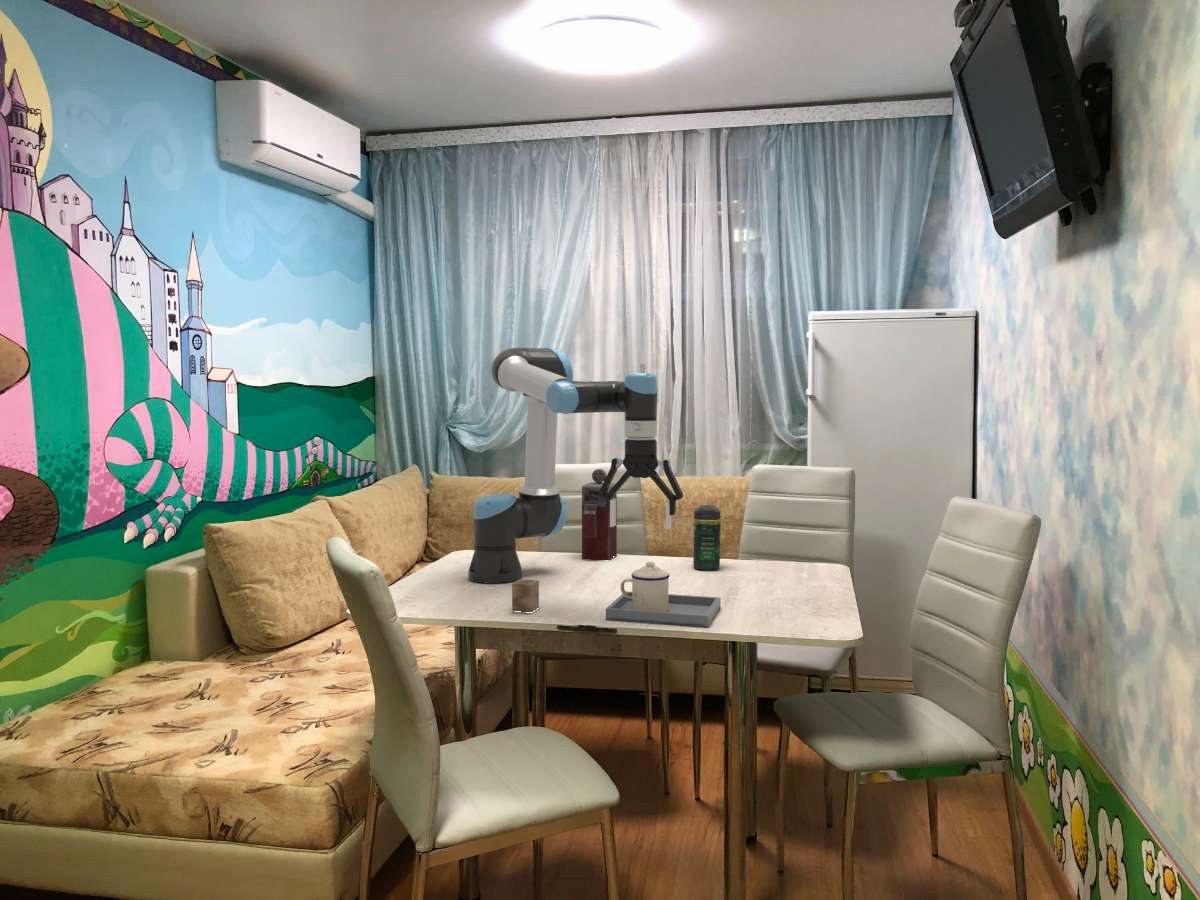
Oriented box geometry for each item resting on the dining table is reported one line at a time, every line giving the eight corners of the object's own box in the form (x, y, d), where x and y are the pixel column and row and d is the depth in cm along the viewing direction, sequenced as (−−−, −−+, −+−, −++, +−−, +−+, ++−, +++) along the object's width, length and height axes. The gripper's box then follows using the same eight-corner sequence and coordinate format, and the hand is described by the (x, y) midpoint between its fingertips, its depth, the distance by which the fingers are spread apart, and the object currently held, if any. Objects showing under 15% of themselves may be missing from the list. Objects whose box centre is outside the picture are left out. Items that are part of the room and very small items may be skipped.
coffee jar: (720, 571, 259) (720, 508, 258) (693, 570, 260) (693, 507, 259) (720, 564, 269) (720, 503, 267) (693, 564, 270) (693, 503, 268)
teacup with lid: (673, 607, 216) (673, 559, 215) (663, 616, 207) (663, 567, 206) (626, 603, 220) (626, 556, 219) (614, 612, 211) (614, 563, 210)
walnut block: (512, 612, 214) (511, 583, 213) (519, 607, 219) (519, 579, 218) (531, 613, 213) (531, 585, 212) (538, 608, 217) (538, 580, 217)
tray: (605, 619, 207) (605, 608, 207) (625, 601, 224) (625, 591, 224) (708, 627, 200) (708, 616, 200) (720, 608, 217) (720, 597, 217)
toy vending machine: (579, 560, 275) (579, 470, 273) (590, 554, 286) (589, 467, 284) (607, 562, 272) (607, 471, 270) (616, 555, 283) (616, 468, 281)
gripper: (585, 438, 210) (585, 527, 212) (690, 440, 203) (689, 532, 205) (594, 436, 217) (594, 522, 219) (695, 438, 211) (695, 527, 212)
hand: (640, 527), depth 212 cm, fingers open, 13 cm apart
